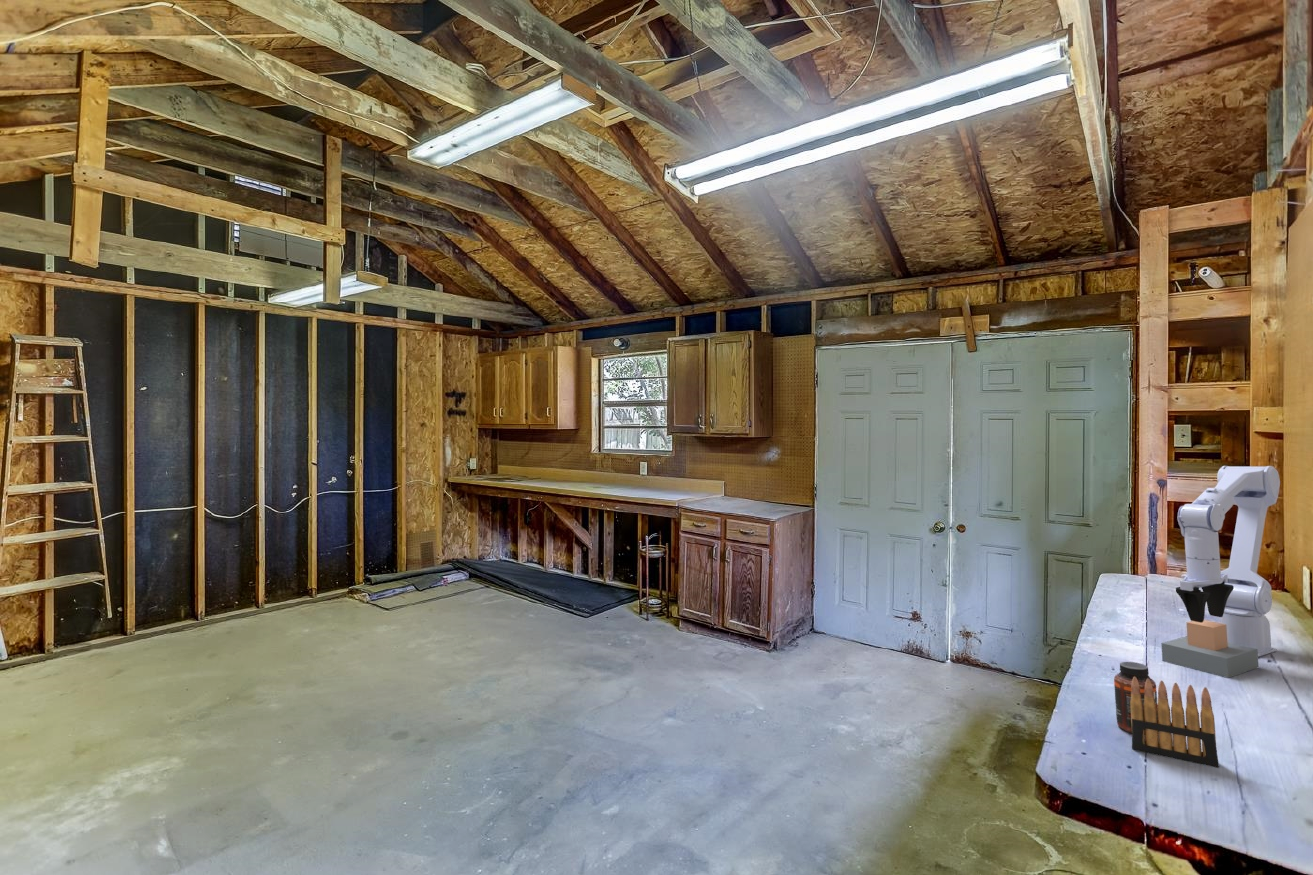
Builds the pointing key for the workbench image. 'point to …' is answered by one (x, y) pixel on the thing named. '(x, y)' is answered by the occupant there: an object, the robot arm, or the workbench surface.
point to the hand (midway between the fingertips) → (1206, 618)
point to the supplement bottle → (1124, 691)
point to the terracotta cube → (1207, 635)
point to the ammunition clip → (1173, 725)
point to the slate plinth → (1211, 657)
